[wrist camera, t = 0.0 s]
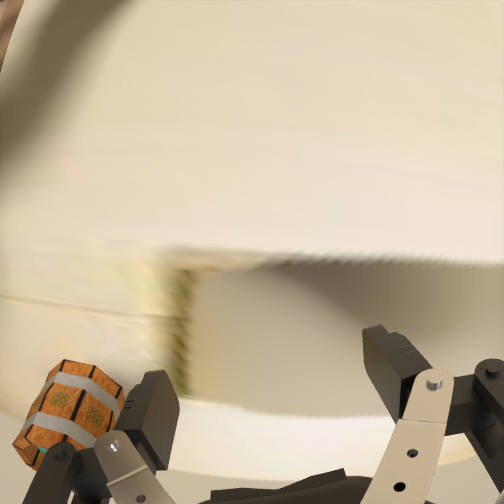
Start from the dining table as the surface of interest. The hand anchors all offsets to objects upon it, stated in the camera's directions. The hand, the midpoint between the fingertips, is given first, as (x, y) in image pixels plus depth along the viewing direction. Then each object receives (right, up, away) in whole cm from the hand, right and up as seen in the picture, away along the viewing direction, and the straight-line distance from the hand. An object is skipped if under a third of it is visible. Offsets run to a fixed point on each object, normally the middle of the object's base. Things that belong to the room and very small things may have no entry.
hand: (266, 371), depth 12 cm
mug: (-27, -19, +30) cm, 45 cm away
